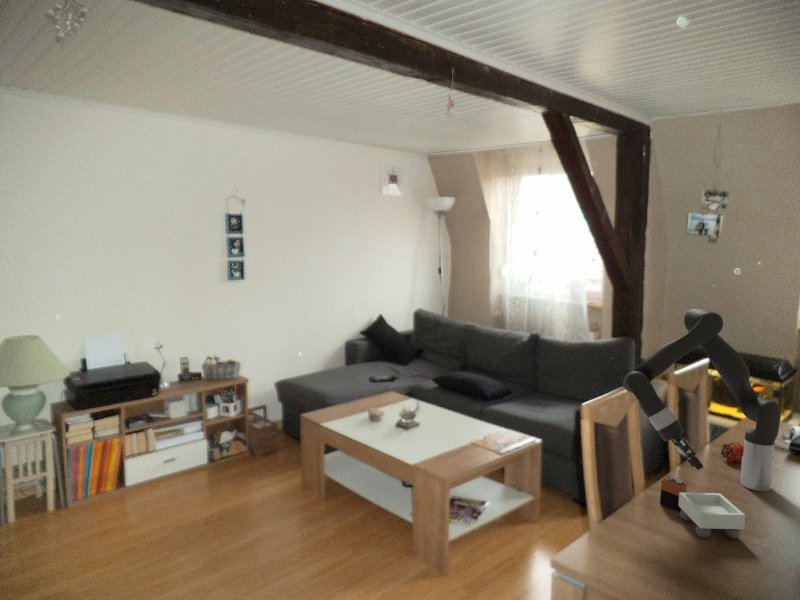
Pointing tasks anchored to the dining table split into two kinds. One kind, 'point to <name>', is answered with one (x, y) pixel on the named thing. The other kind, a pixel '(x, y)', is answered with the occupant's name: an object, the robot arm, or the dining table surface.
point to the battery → (671, 492)
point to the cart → (711, 513)
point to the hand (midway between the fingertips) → (698, 467)
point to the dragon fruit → (733, 452)
